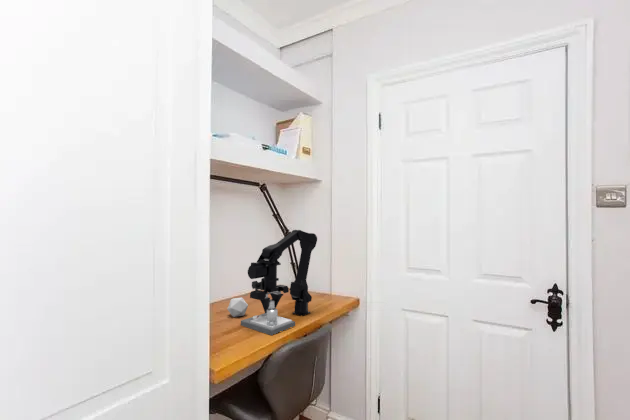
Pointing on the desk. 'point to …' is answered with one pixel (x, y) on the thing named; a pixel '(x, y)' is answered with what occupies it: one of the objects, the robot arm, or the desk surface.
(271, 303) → the spacer
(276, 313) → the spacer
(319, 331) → the desk surface
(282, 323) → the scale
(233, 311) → the die
